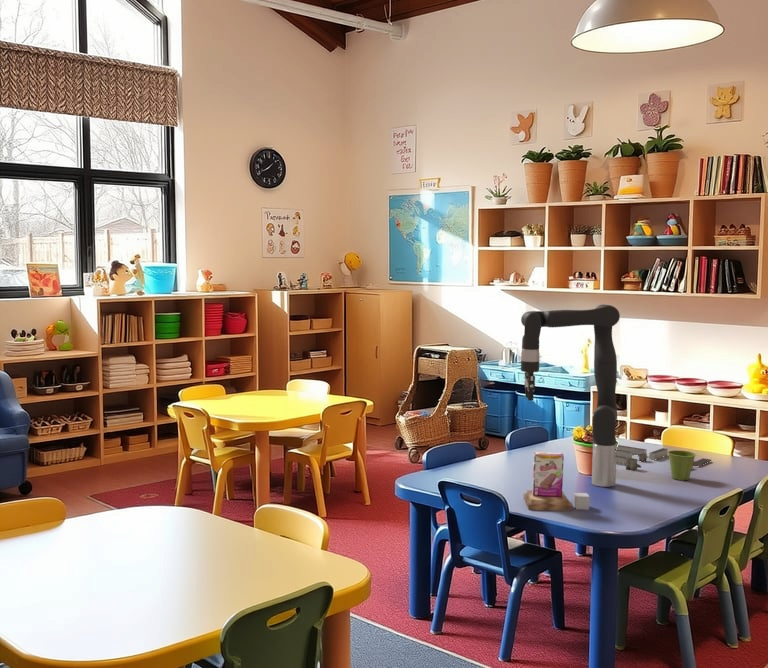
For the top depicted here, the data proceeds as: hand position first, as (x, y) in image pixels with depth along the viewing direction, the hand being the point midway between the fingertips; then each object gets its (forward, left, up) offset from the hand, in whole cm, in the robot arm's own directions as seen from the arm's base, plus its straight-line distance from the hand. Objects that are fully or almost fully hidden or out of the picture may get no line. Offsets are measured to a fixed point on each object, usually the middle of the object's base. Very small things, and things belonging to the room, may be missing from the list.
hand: (529, 398), depth 366 cm
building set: (-61, -48, -37) cm, 86 cm away
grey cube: (-16, +33, -36) cm, 52 cm away
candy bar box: (-4, +30, -33) cm, 45 cm away
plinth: (-4, +30, -36) cm, 47 cm away
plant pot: (-68, -16, -36) cm, 79 cm away
